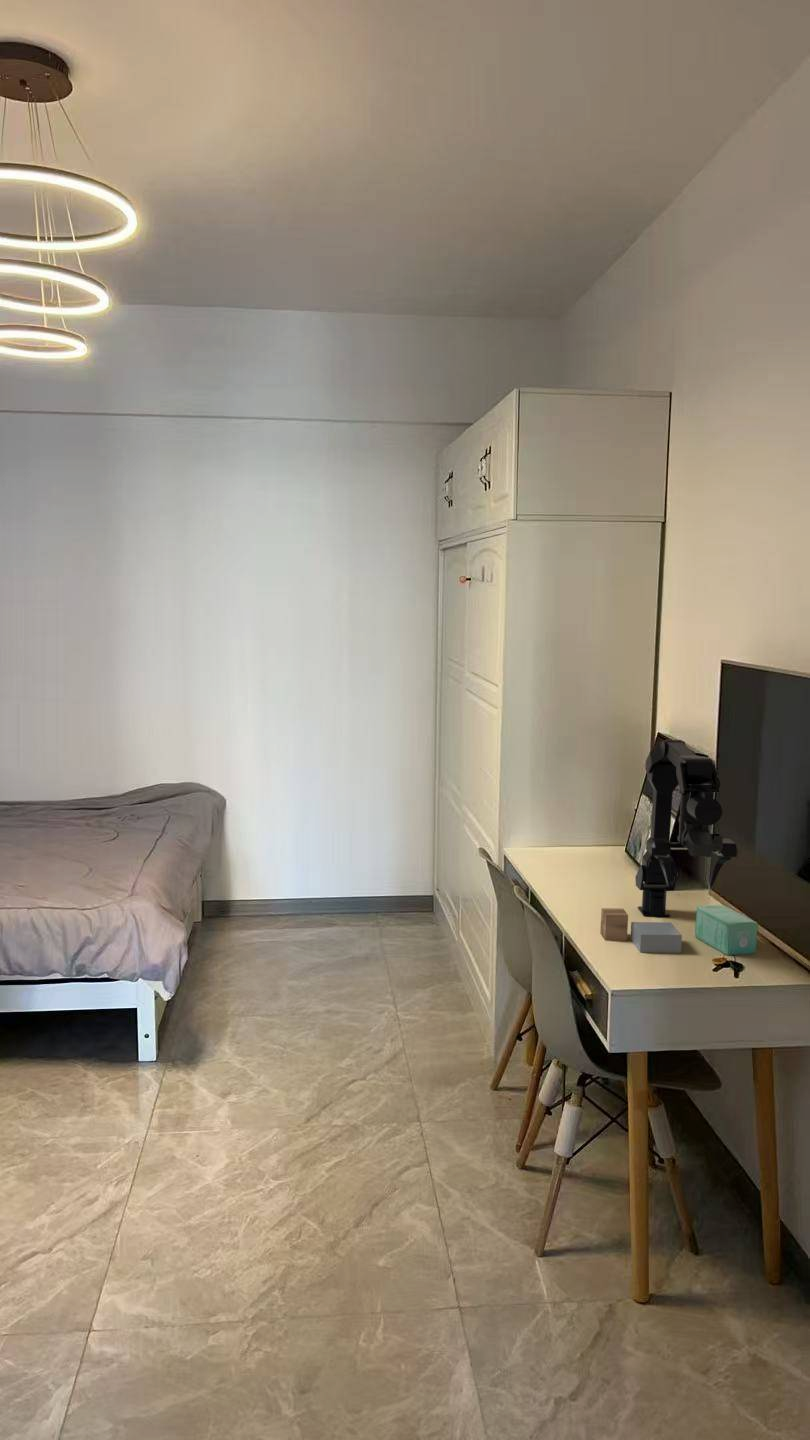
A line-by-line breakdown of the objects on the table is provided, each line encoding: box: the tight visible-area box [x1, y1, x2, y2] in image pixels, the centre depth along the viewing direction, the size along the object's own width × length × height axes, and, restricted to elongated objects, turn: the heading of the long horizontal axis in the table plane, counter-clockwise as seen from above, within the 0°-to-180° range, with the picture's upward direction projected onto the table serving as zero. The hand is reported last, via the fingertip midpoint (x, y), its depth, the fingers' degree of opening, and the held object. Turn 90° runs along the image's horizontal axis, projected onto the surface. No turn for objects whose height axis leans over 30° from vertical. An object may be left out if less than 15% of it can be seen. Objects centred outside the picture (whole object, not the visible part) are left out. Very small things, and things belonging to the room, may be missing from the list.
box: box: [694, 904, 759, 957], centre depth 241 cm, size 7×14×8 cm, turn 17°
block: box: [599, 907, 629, 942], centre depth 246 cm, size 5×5×6 cm
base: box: [629, 921, 683, 954], centre depth 240 cm, size 9×9×4 cm
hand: (689, 885), depth 235 cm, fingers open, 9 cm apart
